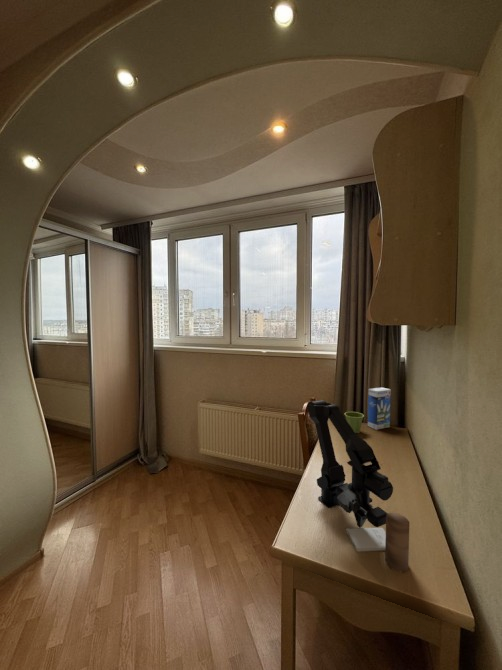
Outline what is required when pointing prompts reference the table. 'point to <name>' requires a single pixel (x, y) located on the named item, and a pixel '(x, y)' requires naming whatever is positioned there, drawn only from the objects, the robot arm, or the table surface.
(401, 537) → the walnut roller
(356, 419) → the plant pot
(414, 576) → the table surface
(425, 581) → the table surface
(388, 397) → the string lights box
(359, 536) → the external hard drive
